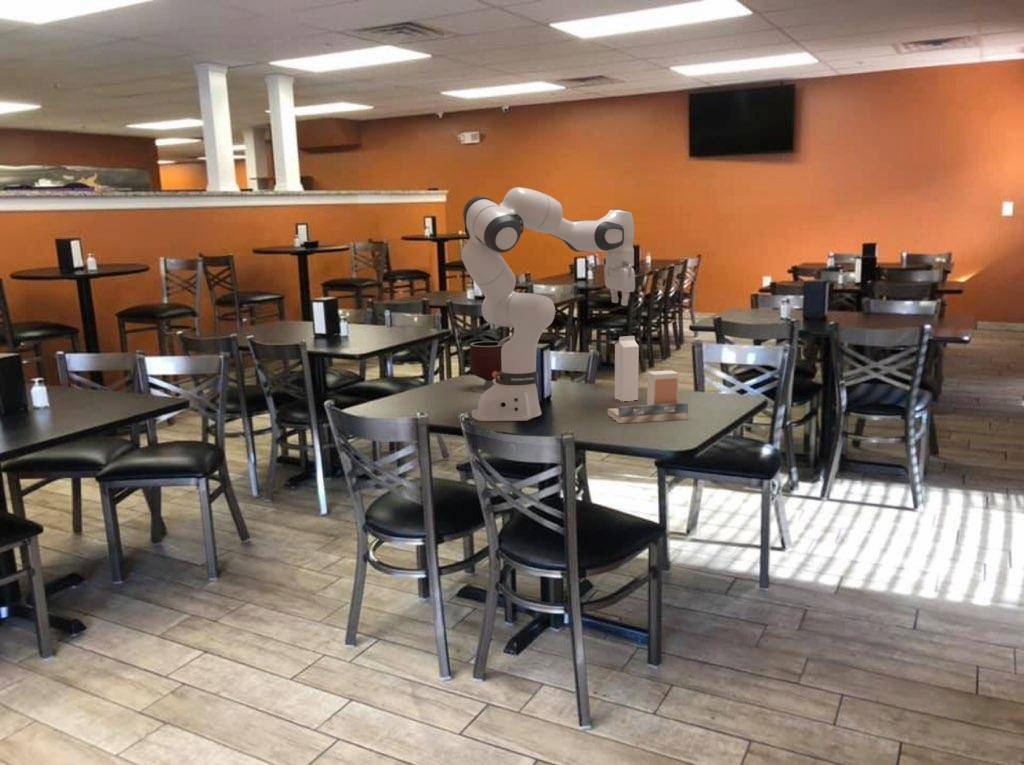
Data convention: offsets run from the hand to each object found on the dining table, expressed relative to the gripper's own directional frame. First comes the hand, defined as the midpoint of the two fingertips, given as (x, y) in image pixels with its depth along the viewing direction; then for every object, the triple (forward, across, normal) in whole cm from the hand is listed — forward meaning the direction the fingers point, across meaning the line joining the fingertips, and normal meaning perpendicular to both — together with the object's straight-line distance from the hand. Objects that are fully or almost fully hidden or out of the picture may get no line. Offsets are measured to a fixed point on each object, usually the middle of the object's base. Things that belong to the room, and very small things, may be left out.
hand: (619, 304), depth 272 cm
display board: (+34, -16, -4) cm, 38 cm away
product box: (+32, -17, -9) cm, 37 cm away
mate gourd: (+34, +40, +36) cm, 64 cm away
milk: (+34, +10, -6) cm, 36 cm away
